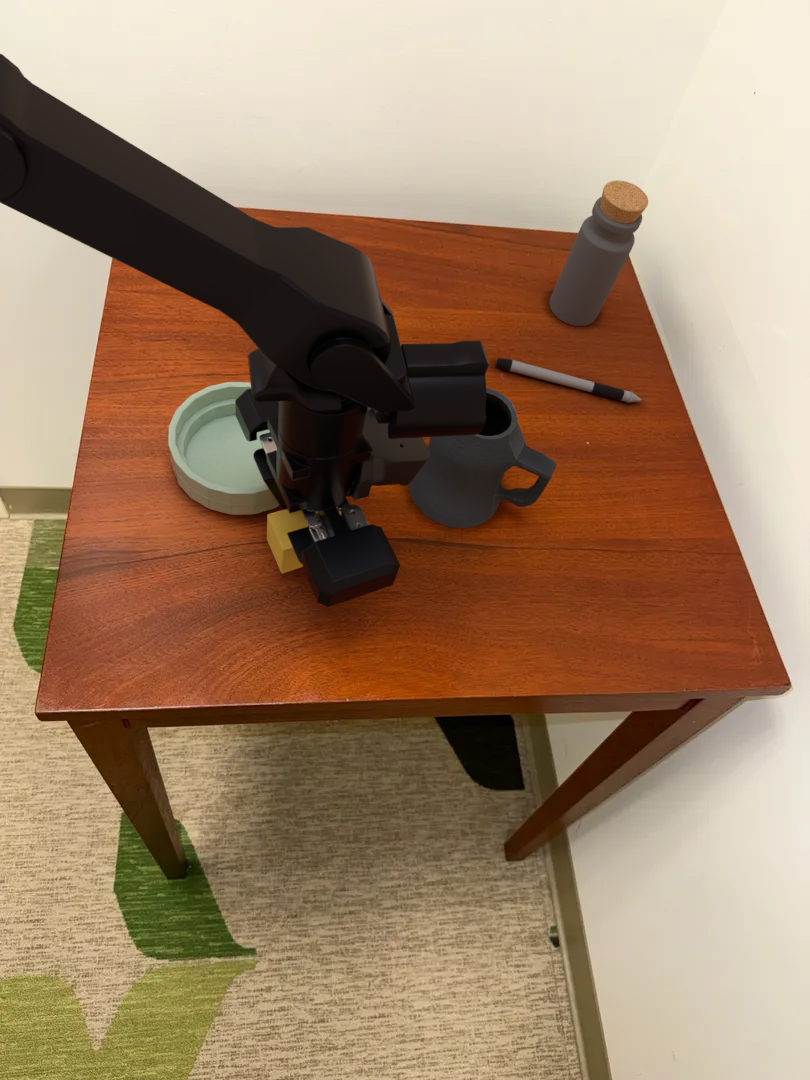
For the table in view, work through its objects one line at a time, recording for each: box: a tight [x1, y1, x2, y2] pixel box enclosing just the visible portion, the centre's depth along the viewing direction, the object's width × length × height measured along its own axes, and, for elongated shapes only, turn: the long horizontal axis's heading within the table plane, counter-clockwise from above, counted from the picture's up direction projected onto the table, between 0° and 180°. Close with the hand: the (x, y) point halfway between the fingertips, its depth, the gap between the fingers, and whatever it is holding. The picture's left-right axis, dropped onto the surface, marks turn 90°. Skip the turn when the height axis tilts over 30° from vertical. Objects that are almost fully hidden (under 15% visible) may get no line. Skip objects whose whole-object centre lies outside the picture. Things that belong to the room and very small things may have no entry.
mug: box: [408, 387, 557, 529], centre depth 68 cm, size 12×9×11 cm
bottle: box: [549, 180, 649, 327], centre depth 83 cm, size 6×6×15 cm
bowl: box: [167, 381, 280, 516], centre depth 69 cm, size 12×12×4 cm
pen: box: [495, 357, 643, 404], centre depth 82 cm, size 1×16×1 cm, turn 79°
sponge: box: [266, 507, 341, 574], centre depth 64 cm, size 6×4×4 cm, turn 115°
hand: (306, 540), depth 65 cm, fingers closed on sponge, 3 cm apart
